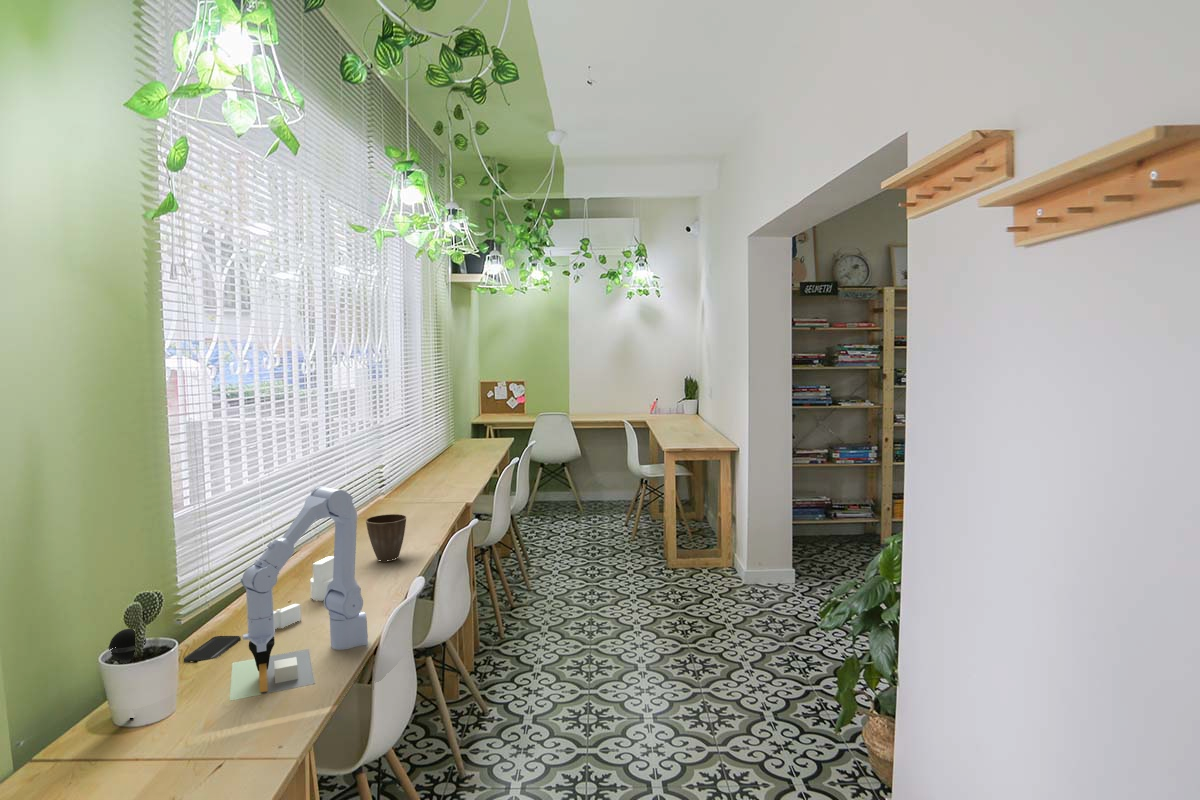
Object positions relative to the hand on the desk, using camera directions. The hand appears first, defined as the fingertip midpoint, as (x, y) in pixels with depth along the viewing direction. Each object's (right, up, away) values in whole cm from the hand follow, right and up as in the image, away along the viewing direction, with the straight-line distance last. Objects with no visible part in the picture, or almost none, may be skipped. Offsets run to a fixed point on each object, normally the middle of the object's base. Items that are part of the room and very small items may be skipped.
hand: (262, 669), depth 171 cm
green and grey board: (+2, -2, +1) cm, 3 cm away
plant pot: (0, +4, +100) cm, 100 cm away
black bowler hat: (-20, -4, -18) cm, 27 cm away
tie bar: (+3, -1, -5) cm, 6 cm away
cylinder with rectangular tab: (-8, +1, +59) cm, 60 cm away
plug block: (+6, -1, -1) cm, 6 cm away
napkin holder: (-12, -1, +34) cm, 36 cm away
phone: (-22, -2, +18) cm, 28 cm away
